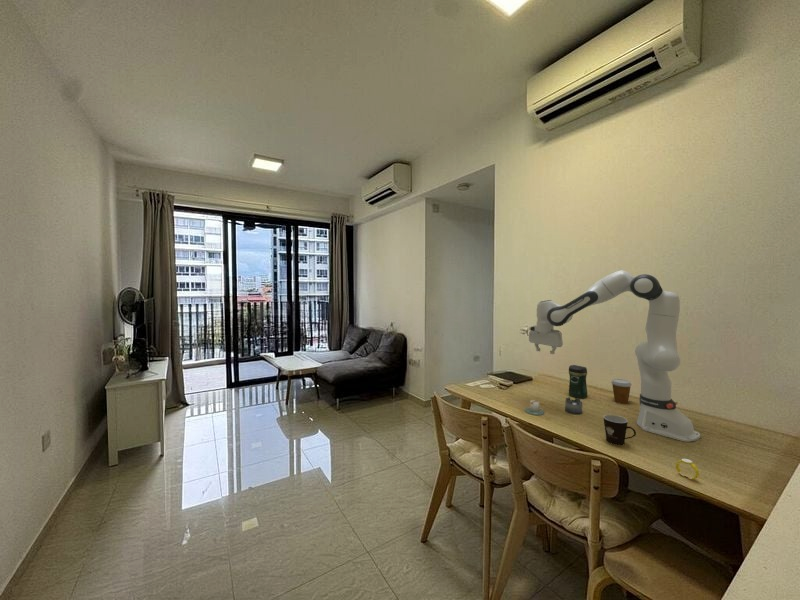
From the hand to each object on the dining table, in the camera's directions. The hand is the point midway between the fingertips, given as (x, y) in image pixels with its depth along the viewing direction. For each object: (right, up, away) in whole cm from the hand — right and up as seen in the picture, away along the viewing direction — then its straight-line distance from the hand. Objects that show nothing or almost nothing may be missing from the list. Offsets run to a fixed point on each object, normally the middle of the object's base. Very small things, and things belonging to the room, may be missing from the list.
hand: (545, 352), depth 181 cm
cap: (-11, -29, -12) cm, 33 cm away
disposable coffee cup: (+44, -28, 0) cm, 52 cm away
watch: (+16, -32, -71) cm, 80 cm away
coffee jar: (+25, -28, +11) cm, 39 cm away
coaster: (-11, -30, -11) cm, 34 cm away
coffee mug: (+9, -31, -47) cm, 57 cm away
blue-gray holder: (+10, -29, -12) cm, 33 cm away
